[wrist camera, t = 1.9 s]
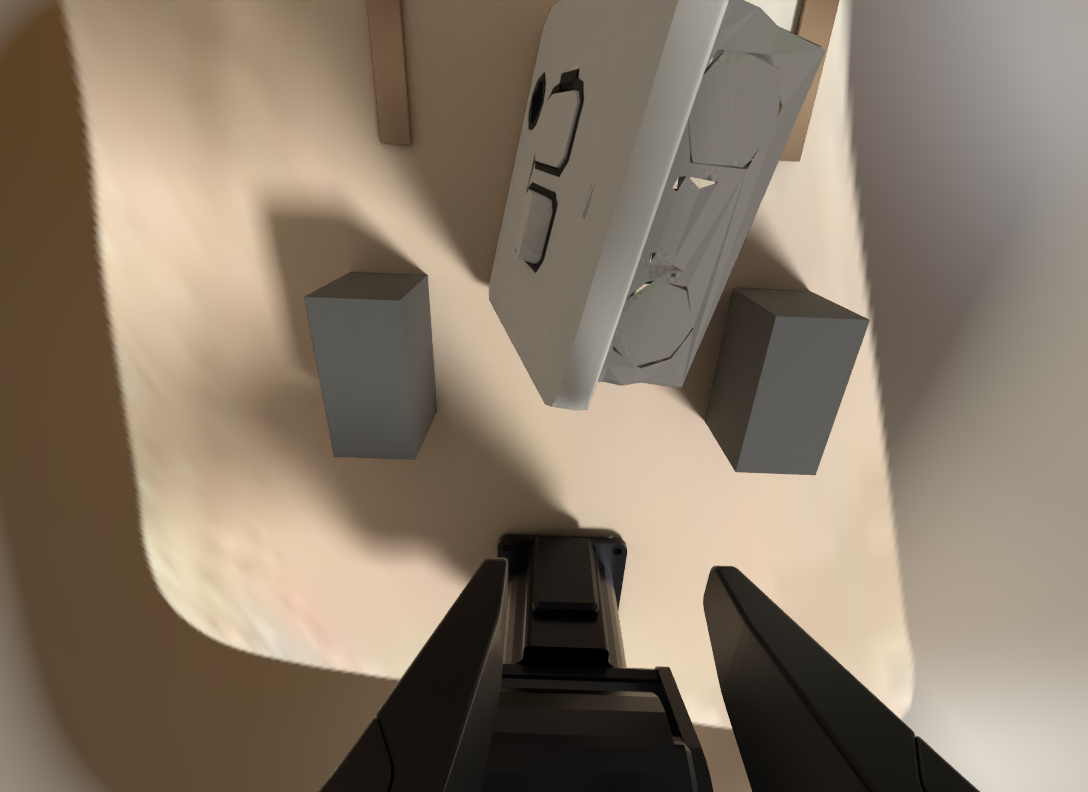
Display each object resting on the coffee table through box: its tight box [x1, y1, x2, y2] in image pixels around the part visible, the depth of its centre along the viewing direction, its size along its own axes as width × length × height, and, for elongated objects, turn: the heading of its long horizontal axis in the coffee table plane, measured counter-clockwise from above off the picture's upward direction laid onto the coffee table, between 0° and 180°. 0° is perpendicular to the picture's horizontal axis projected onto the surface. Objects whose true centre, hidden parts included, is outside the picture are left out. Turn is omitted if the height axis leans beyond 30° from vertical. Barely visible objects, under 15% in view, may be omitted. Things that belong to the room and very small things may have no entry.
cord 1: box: [705, 288, 870, 475], centre depth 18 cm, size 6×3×4 cm, turn 178°
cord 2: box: [305, 272, 437, 460], centre depth 18 cm, size 6×3×4 cm, turn 178°
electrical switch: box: [489, 0, 826, 410], centre depth 13 cm, size 9×5×9 cm, turn 165°
